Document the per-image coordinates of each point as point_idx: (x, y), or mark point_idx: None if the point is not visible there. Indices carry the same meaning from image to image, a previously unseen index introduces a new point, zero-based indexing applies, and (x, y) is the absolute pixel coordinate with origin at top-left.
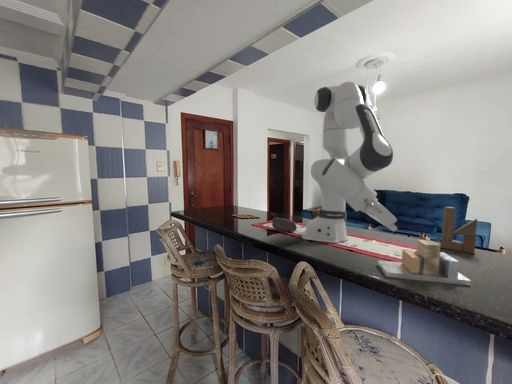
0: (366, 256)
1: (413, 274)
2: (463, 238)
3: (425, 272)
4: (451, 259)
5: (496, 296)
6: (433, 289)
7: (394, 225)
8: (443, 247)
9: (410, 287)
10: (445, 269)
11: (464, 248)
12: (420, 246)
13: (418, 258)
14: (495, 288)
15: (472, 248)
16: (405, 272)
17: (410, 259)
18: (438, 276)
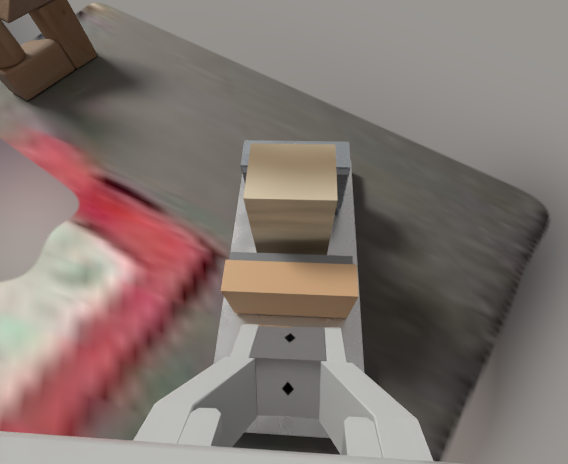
0: None
1: (355, 314)
2: (45, 22)
3: None
4: None
5: (398, 150)
6: (421, 285)
7: (345, 356)
8: (33, 93)
9: (439, 364)
10: (341, 197)
11: (73, 55)
12: (282, 215)
13: (356, 270)
14: (345, 128)
15: (85, 41)
16: (344, 340)
17: (336, 301)
18: (346, 231)
